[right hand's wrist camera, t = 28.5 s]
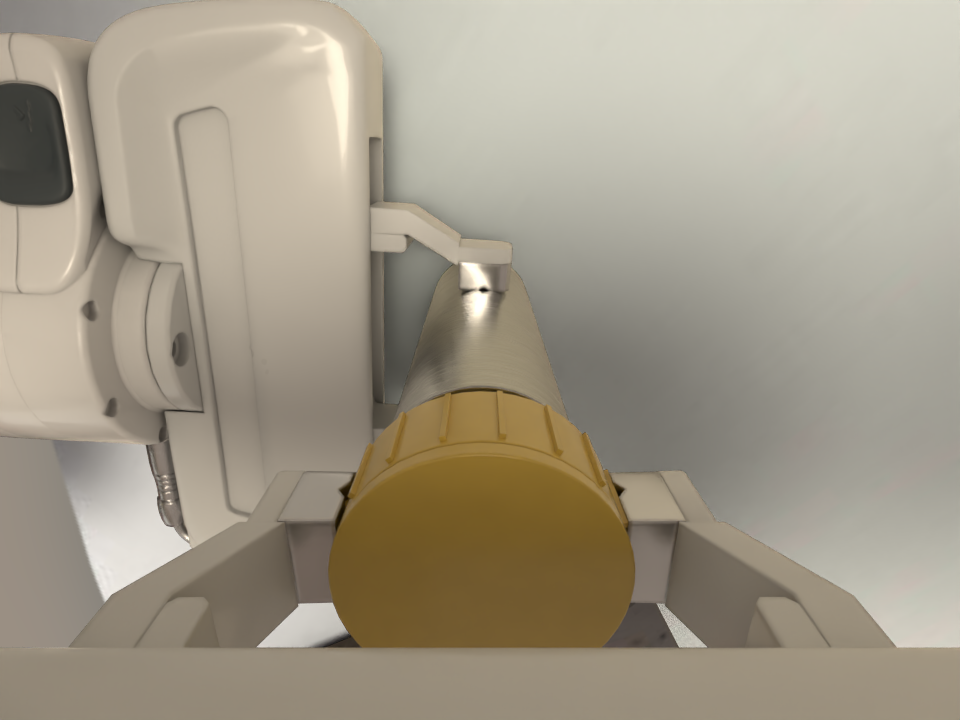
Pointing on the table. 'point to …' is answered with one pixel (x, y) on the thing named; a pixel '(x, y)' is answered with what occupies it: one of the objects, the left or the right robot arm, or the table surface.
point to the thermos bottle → (480, 347)
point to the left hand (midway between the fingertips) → (504, 342)
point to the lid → (481, 532)
